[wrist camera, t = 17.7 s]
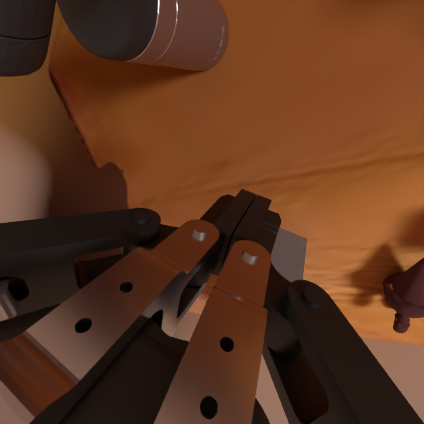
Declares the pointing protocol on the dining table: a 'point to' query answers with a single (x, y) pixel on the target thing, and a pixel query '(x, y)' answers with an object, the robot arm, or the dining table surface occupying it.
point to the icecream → (406, 295)
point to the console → (289, 255)
